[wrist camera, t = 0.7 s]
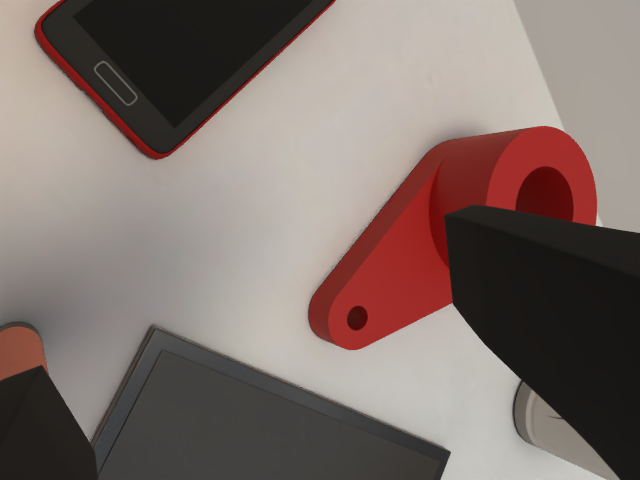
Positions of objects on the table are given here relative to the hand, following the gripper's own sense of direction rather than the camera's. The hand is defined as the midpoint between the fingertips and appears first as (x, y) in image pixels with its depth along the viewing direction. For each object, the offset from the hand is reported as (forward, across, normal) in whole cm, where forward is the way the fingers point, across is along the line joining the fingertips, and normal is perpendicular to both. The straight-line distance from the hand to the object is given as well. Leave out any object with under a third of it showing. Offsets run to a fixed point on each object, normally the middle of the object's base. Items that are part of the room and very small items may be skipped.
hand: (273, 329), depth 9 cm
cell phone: (+22, -3, -4) cm, 22 cm away
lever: (+20, -12, +12) cm, 26 cm away
